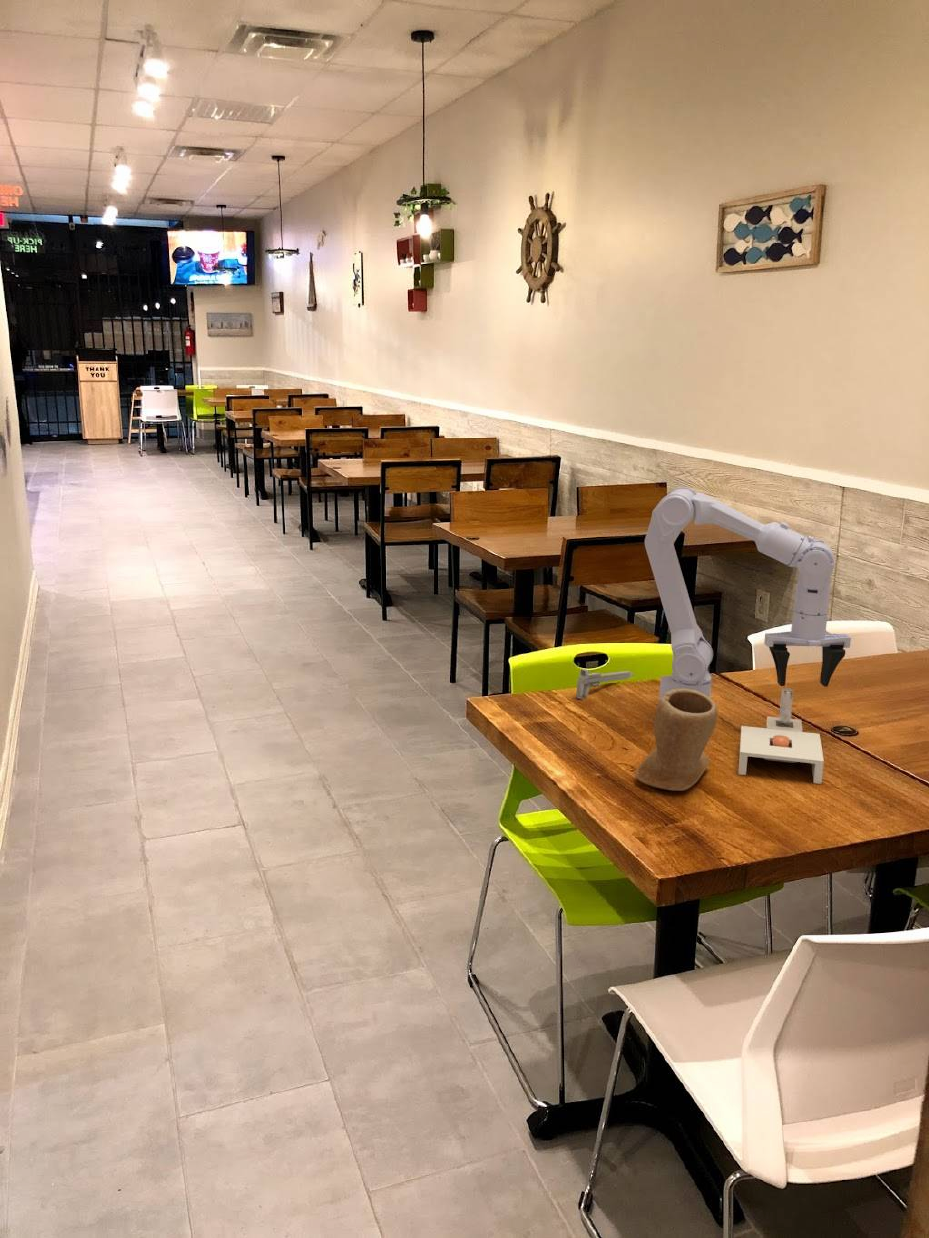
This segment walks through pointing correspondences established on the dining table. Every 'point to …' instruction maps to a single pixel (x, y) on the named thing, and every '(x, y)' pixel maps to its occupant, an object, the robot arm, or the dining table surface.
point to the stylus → (786, 707)
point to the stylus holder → (794, 726)
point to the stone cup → (679, 740)
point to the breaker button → (780, 745)
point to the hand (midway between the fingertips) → (802, 684)
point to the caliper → (596, 680)
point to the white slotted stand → (781, 748)
